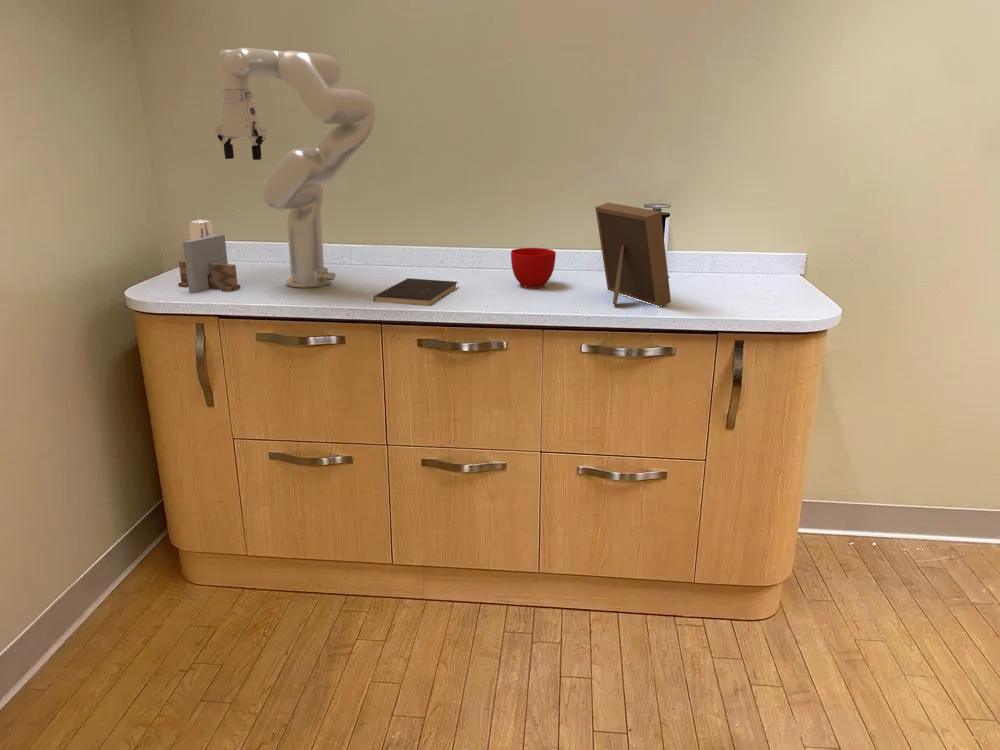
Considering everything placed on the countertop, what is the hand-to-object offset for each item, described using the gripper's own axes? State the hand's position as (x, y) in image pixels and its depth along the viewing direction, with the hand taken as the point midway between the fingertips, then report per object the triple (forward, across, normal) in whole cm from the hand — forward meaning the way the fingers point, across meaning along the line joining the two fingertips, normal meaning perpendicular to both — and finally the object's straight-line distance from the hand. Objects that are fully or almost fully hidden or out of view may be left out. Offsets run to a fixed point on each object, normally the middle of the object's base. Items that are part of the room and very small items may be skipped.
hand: (243, 159), depth 222 cm
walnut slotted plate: (+34, +1, +19) cm, 39 cm away
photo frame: (+35, -112, -11) cm, 118 cm away
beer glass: (+34, +20, -2) cm, 40 cm away
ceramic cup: (+34, -83, -21) cm, 92 cm away
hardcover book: (+35, -57, +4) cm, 67 cm away
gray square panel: (+34, +1, +19) cm, 39 cm away
